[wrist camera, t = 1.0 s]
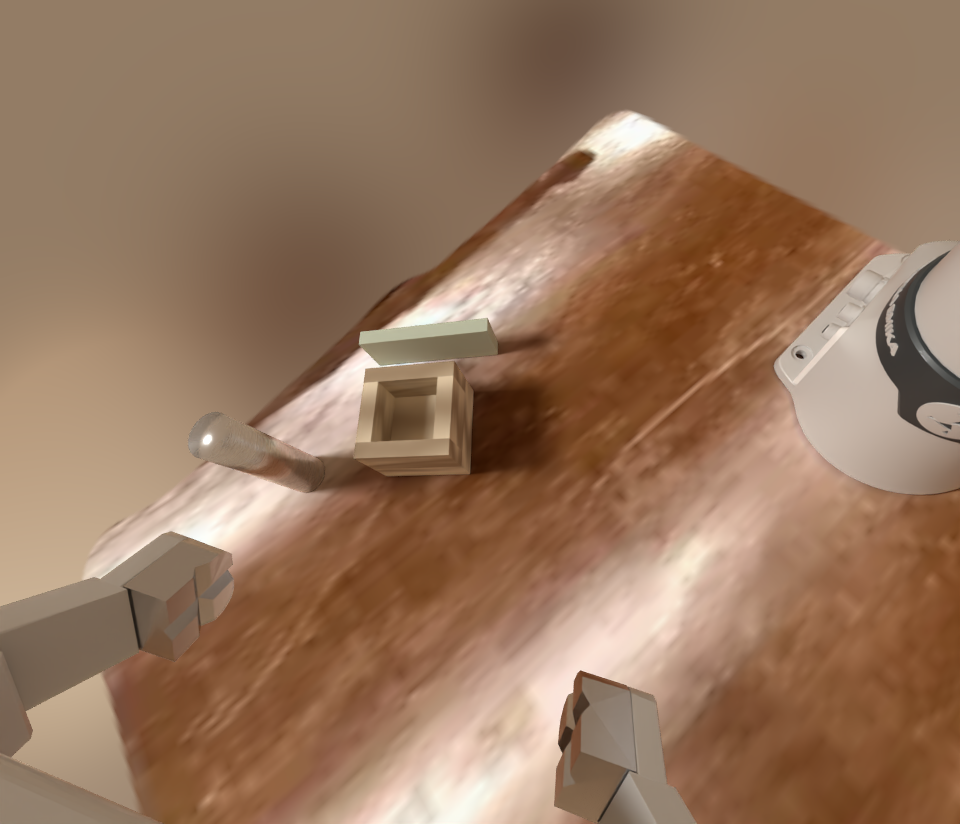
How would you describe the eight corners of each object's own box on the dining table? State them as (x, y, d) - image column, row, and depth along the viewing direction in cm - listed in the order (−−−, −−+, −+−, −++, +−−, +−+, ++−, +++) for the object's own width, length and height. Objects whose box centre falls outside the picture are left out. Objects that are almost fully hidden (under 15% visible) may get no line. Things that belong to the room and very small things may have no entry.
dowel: (308, 450, 51) (211, 403, 39) (331, 468, 50) (238, 426, 37) (285, 479, 51) (179, 442, 38) (308, 499, 49) (206, 467, 37)
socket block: (470, 474, 45) (448, 454, 39) (386, 476, 48) (353, 458, 41) (473, 391, 49) (454, 360, 42) (395, 396, 51) (365, 368, 45)
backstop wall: (497, 354, 50) (487, 331, 45) (379, 365, 53) (358, 344, 49) (497, 342, 50) (487, 318, 46) (381, 353, 54) (360, 331, 49)
